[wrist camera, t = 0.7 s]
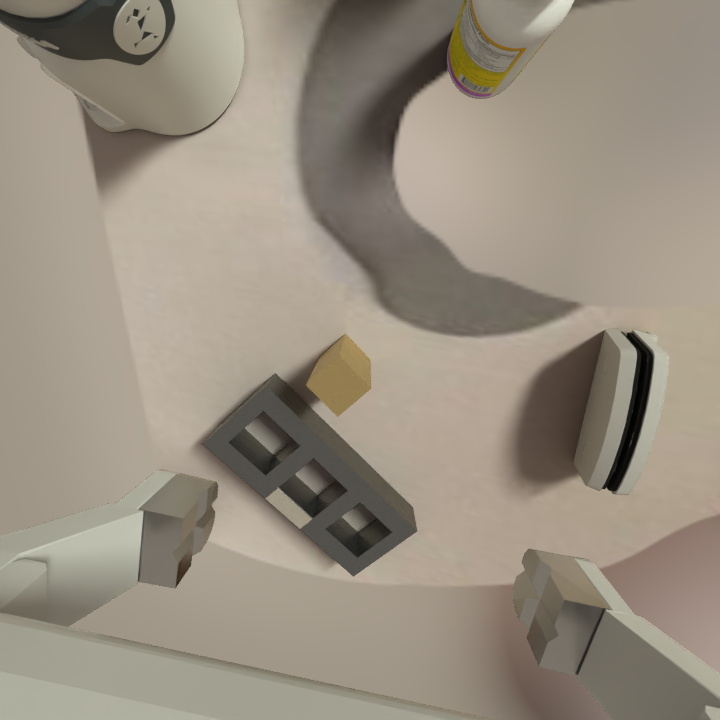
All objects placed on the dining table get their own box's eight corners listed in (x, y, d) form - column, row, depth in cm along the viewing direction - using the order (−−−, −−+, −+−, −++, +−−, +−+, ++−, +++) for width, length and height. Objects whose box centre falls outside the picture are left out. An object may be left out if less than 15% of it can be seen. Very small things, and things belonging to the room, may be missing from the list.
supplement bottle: (508, -3, 30) (605, -181, 18) (529, 81, 32) (630, -29, 20) (434, 34, 31) (478, -111, 19) (457, 115, 33) (512, 29, 20)
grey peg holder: (217, 427, 42) (201, 444, 38) (275, 373, 40) (265, 385, 36) (354, 550, 47) (353, 577, 43) (412, 507, 45) (417, 531, 41)
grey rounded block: (615, 466, 43) (645, 521, 34) (570, 457, 44) (587, 507, 35) (652, 329, 38) (699, 350, 29) (601, 324, 40) (630, 343, 31)
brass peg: (319, 357, 40) (305, 385, 31) (345, 333, 39) (339, 355, 30) (344, 382, 40) (337, 416, 32) (370, 359, 40) (370, 388, 31)
